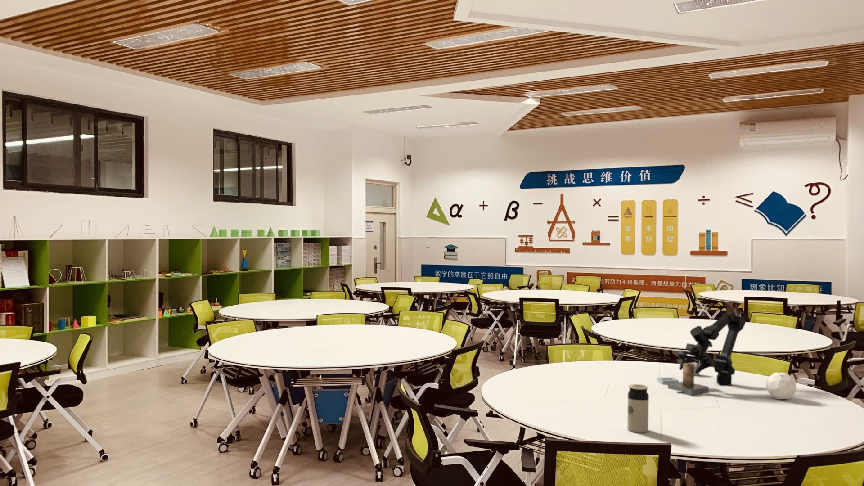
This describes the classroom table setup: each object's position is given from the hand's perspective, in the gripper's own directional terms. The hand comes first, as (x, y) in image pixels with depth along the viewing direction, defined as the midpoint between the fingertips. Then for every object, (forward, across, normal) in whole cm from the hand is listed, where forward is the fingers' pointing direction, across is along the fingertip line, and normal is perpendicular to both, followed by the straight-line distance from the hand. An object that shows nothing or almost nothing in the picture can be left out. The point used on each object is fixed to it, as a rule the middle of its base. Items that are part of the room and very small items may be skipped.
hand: (687, 371), depth 323 cm
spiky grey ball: (-20, -24, +35) cm, 46 cm away
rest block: (+5, -15, +10) cm, 19 cm away
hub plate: (+7, 0, +8) cm, 11 cm away
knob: (+6, 0, +7) cm, 10 cm away
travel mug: (+62, +33, -47) cm, 84 cm away
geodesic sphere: (-12, +33, +27) cm, 44 cm away
